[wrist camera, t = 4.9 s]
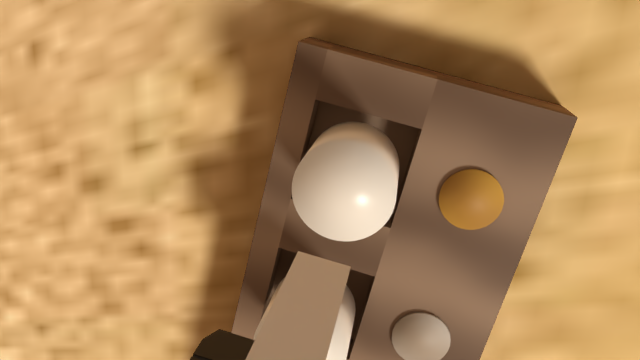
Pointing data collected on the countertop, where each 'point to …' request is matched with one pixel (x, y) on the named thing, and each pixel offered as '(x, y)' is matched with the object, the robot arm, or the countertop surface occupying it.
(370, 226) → the button
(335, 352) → the button
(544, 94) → the countertop surface
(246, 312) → the board
